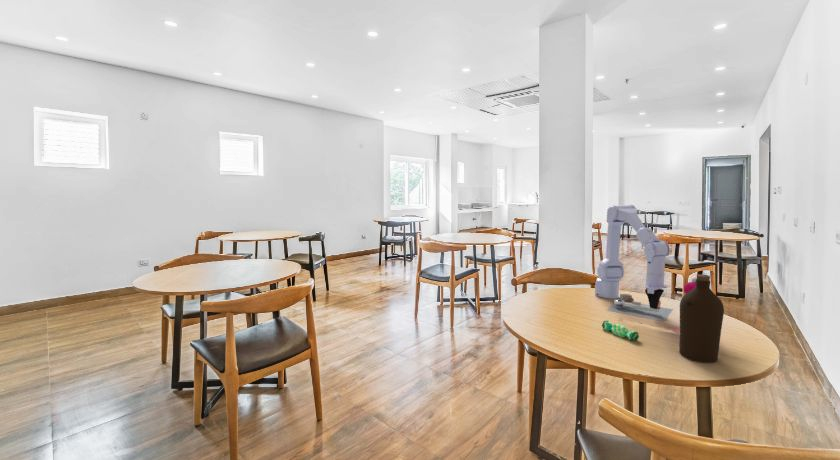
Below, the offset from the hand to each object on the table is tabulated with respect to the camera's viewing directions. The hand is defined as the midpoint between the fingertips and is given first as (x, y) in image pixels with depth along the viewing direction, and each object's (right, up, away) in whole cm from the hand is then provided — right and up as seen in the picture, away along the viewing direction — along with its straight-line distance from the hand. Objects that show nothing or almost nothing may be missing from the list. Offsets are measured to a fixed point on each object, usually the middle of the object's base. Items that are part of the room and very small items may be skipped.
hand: (653, 307), depth 144 cm
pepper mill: (+5, -7, -13) cm, 16 cm away
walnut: (-1, -2, +16) cm, 16 cm away
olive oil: (-5, -9, -30) cm, 31 cm away
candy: (-20, -7, -12) cm, 25 cm away
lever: (-2, -1, +8) cm, 8 cm away
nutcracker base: (0, -4, +9) cm, 10 cm away
